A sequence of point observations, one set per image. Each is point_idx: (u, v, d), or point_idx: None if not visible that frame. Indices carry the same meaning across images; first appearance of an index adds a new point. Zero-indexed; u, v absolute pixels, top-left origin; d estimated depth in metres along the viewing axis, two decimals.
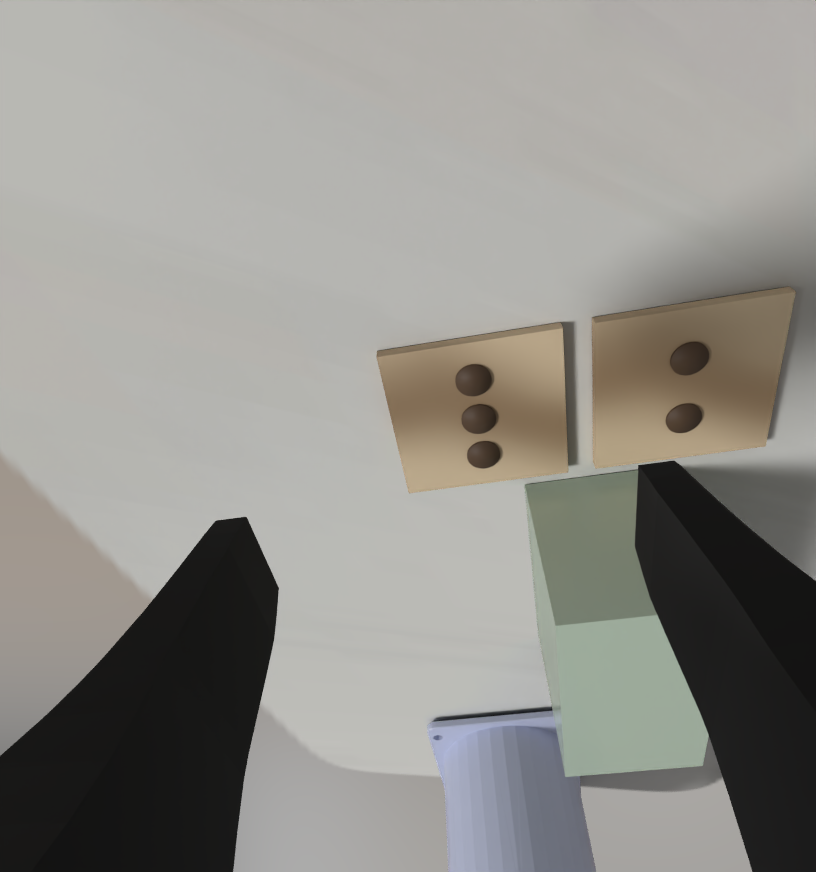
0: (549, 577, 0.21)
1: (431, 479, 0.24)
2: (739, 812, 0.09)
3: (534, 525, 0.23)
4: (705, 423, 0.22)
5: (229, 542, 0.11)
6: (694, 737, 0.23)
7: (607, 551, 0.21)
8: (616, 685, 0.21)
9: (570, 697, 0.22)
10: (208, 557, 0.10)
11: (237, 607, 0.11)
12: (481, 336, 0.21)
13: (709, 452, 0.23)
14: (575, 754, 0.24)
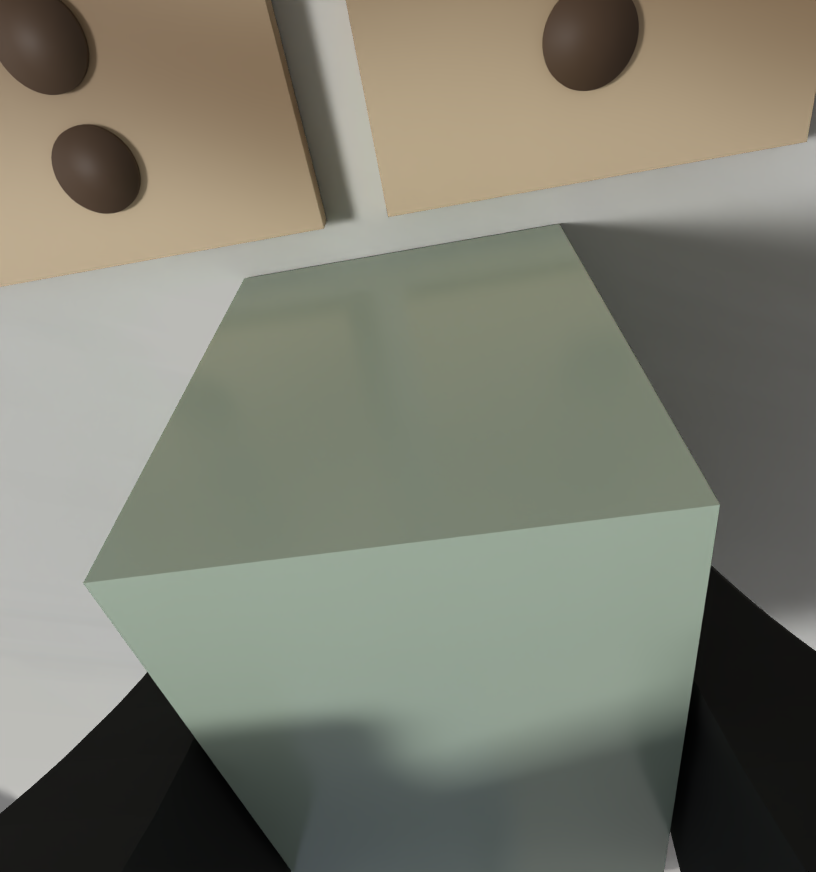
0: (167, 446, 0.07)
1: (2, 252, 0.10)
2: None
3: (213, 341, 0.09)
4: (649, 60, 0.08)
5: None
6: None
7: (358, 378, 0.07)
8: (382, 767, 0.07)
9: (267, 796, 0.08)
10: None
11: None
12: None
13: (664, 162, 0.09)
14: None
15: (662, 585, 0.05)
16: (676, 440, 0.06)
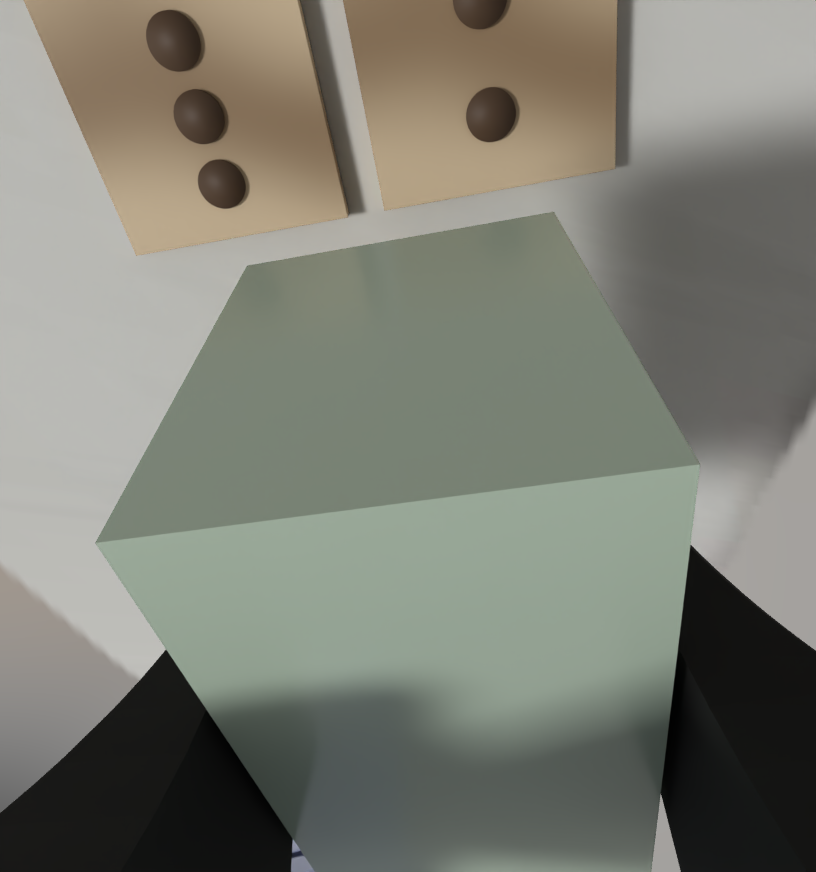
0: (173, 419, 0.07)
1: (161, 231, 0.17)
2: (670, 816, 0.09)
3: (217, 324, 0.09)
4: (523, 126, 0.16)
5: None
6: (620, 849, 0.09)
7: (357, 356, 0.08)
8: (381, 731, 0.08)
9: (269, 761, 0.08)
10: None
11: None
12: None
13: (538, 180, 0.16)
14: None
15: (647, 545, 0.06)
16: (660, 408, 0.06)
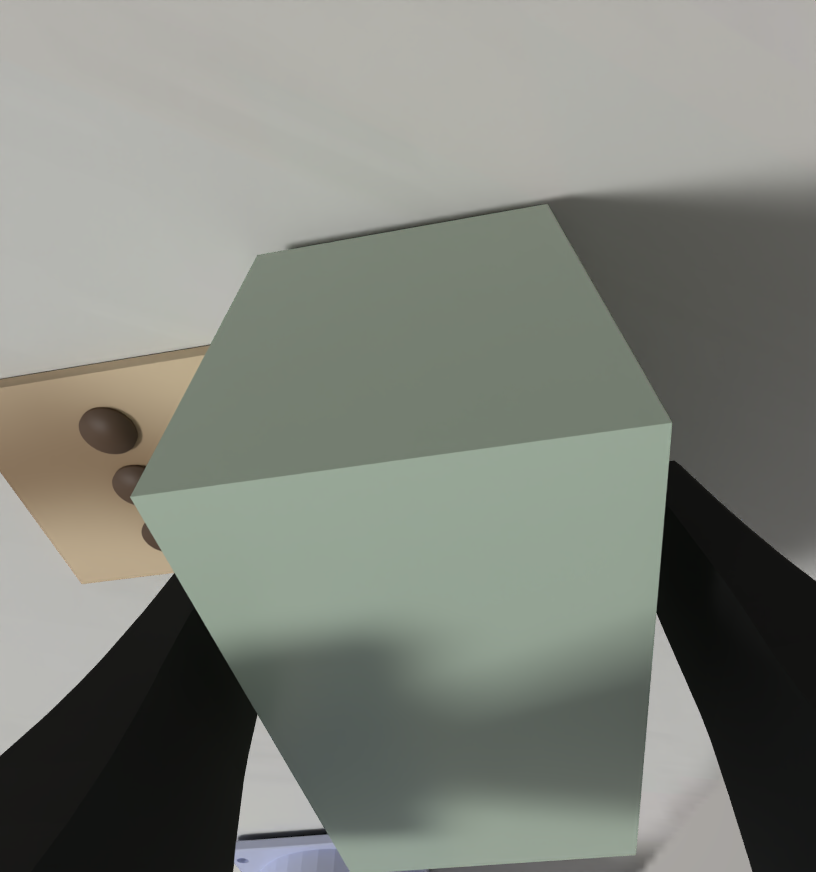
0: (194, 392, 0.08)
1: (106, 566, 0.16)
2: (739, 811, 0.09)
3: (231, 308, 0.10)
4: None
5: None
6: (608, 800, 0.10)
7: (364, 334, 0.08)
8: (386, 681, 0.08)
9: (282, 711, 0.09)
10: None
11: None
12: (104, 365, 0.13)
13: None
14: (353, 833, 0.11)
15: (627, 498, 0.06)
16: (639, 375, 0.06)
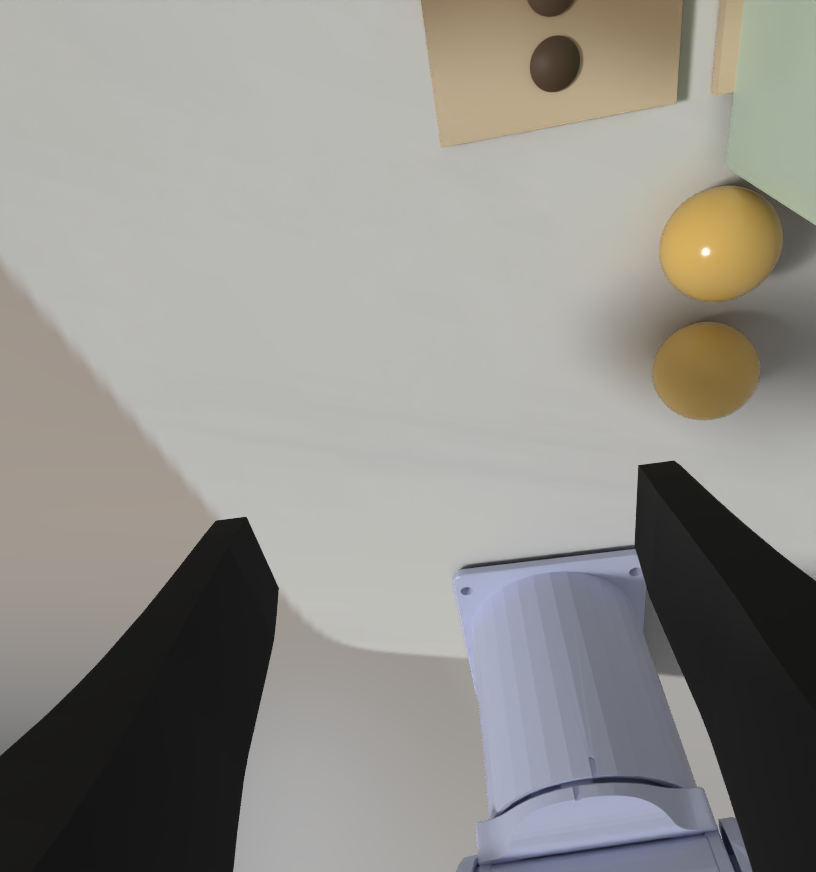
0: None
1: (475, 119, 0.16)
2: (739, 812, 0.09)
3: None
4: None
5: (229, 542, 0.11)
6: None
7: None
8: None
9: None
10: (208, 557, 0.10)
11: (237, 607, 0.11)
12: None
13: None
14: None
15: None
16: None
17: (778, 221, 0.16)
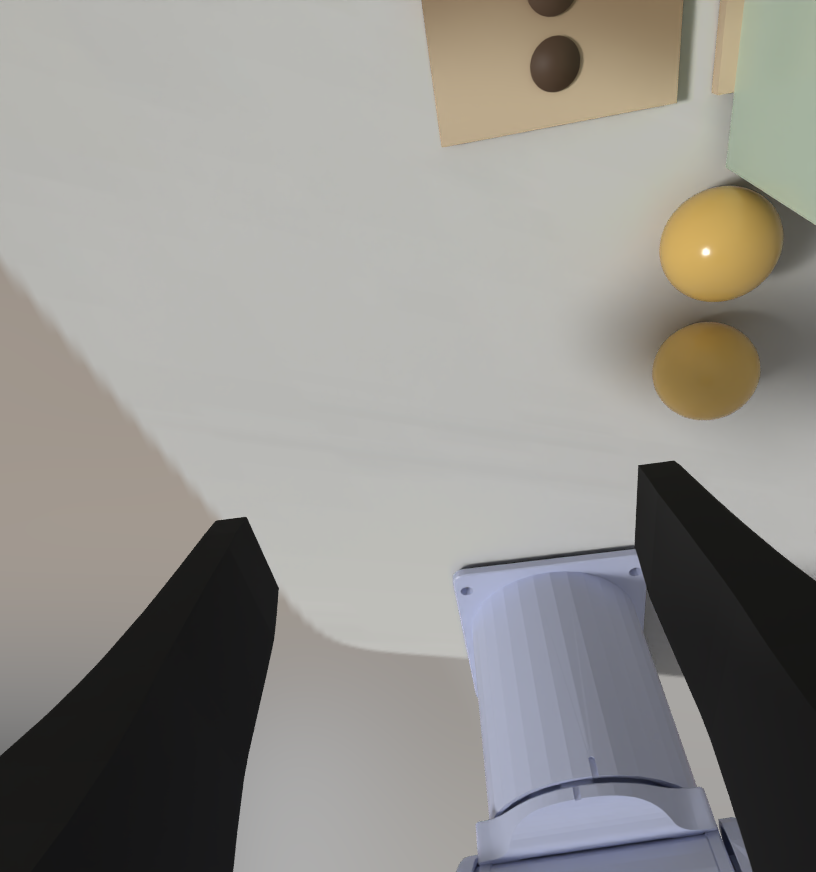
0: None
1: (475, 119, 0.16)
2: (739, 812, 0.09)
3: None
4: None
5: (229, 542, 0.11)
6: None
7: None
8: None
9: None
10: (208, 557, 0.10)
11: (237, 607, 0.11)
12: None
13: None
14: None
15: None
16: None
17: (778, 221, 0.16)
